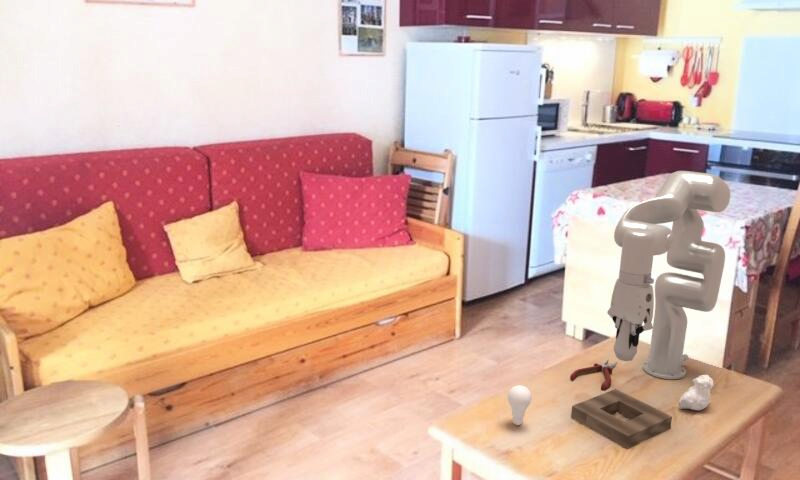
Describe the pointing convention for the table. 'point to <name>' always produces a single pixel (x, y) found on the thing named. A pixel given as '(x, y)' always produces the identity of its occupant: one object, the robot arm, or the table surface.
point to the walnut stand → (626, 433)
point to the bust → (697, 394)
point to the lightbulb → (519, 402)
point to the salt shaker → (624, 342)
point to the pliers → (595, 369)
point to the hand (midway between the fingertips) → (626, 344)
